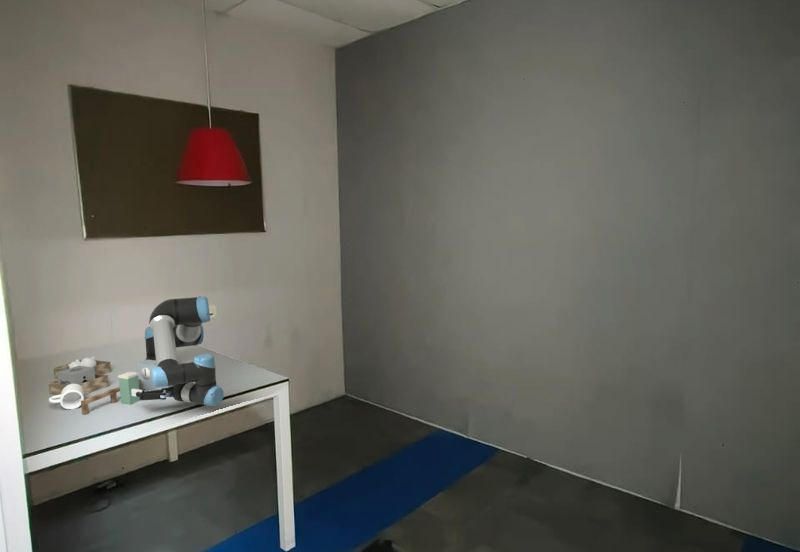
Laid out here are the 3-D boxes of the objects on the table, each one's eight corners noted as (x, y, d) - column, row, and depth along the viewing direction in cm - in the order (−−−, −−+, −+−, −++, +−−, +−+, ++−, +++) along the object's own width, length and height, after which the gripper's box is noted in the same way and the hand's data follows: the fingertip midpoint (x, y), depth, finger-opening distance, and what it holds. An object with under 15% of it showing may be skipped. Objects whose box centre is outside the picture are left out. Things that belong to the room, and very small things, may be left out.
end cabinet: (149, 384, 224) (147, 359, 223) (180, 388, 218) (178, 362, 217) (137, 389, 218) (134, 363, 217) (168, 394, 212) (166, 367, 210)
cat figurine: (67, 358, 236) (95, 352, 244) (65, 365, 243) (93, 359, 251) (70, 375, 233) (99, 368, 241) (69, 381, 241) (97, 375, 249)
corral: (85, 368, 251) (84, 358, 250) (138, 375, 238) (137, 365, 238) (19, 389, 221) (18, 378, 220) (75, 397, 209) (74, 386, 208)
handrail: (139, 391, 216) (138, 379, 215) (142, 391, 215) (141, 379, 215) (82, 414, 191) (80, 401, 190) (85, 414, 190) (83, 401, 190)
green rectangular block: (131, 399, 207) (129, 371, 205) (140, 400, 205) (138, 372, 203) (120, 403, 202) (118, 375, 200) (130, 405, 200) (127, 376, 198)
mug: (84, 399, 207) (83, 381, 206) (84, 407, 198) (82, 388, 197) (50, 406, 200) (48, 387, 199) (48, 414, 192) (46, 394, 191)
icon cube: (59, 393, 214) (57, 372, 213) (81, 386, 223) (79, 365, 222) (74, 396, 210) (72, 374, 209) (96, 389, 219) (94, 367, 218)
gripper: (162, 413, 181) (120, 406, 188) (209, 390, 204) (170, 385, 211) (161, 393, 180) (118, 387, 187) (208, 373, 203) (169, 368, 210)
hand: (146, 386), depth 199 cm, fingers open, 13 cm apart
